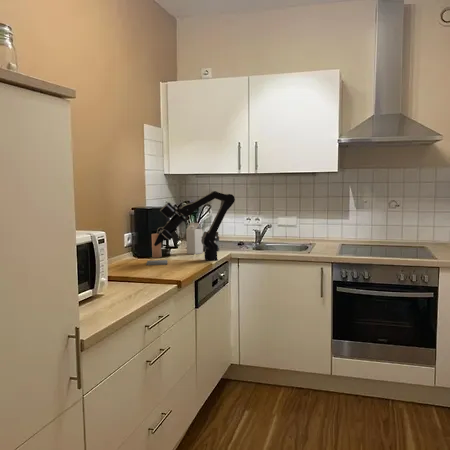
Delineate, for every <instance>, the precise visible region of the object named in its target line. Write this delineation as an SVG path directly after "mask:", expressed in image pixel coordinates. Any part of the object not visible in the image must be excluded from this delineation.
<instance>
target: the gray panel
mask: <svg viewBox="0 0 450 450" xmlns="http://www.w3.org/2000/svg"><path fill="white" fill-rule="evenodd" d="M145 264H146V265H145V266H161V265H162V266H163V265H164V266H165V265H168V259H160V260H159V259H158V260H155V259H154V260H146V263H145Z"/></svg>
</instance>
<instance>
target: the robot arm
mask: <svg viewBox="0 0 450 450" xmlns="http://www.w3.org/2000/svg"><path fill="white" fill-rule="evenodd" d="M214 199H215V200H219V201H220V204H219V209H218V210H217V213H216V215H215V217H214V219H213V221H212V223H211V224H210V226H209V229H208V230H207V231H204V232H203V233H202V235H203V236H202V237H201V238H202V240H201V242H202V244H203V245H204V246H205V248H207V249H206V251H204V260H205V261H207V262H208V261H210V262H211V261H218V260H219V259H218V251H217V248H218V245H216V244H215V243H214V241H215V237H216V232H218V230H219V228H220V226H221V224H222V221H223V219H224V217H225V216H226V214H227V211H228V210H229V209H230V208H231V207H232V205H233V204H234V203H235V201H236V198H235V196H234V195H233V194H230V193H223V192H218V191H216V190H212V191H211V192H210V193H208V194H206V195H204V196H203V197H201V198H199V199H197V200H195V201H193V202H189V203H187V204H184V205H181V206H180V207H179V208H177V207H176V208H175V207H174V205H172V204H171V202H170V201H169V202H167V203H166V204H164V205H163V206H162V207H161V208H160V210H159V212H160V213H161V214H163V215H164V216H165V217H166V219H168V218H169V220H168V221H167V222H166V224H165V225H164V226H160V227H158V228H157V229H156V230H157V231H156V233H155V234H159V235H158V237H157V239H156V241H155V244H154V245H155V246H157V245H158V244H159V243H161V244H162V242H164V241H171V240H172V242H173V243H174V244H176V243H177V242H180V241H181V240H180V238H179V235H178V233H177V229H178V227H179V226H181V224H182V223H184V224H187V219H188V218H187V217H188V216H190V215H192V214H194V212H195V211H196V210H197V209H199V208H201V207H202V206H204V205H206V204H208V203H210V202H212V201H213V200H214Z"/></svg>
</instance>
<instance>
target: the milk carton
mask: <svg viewBox="0 0 450 450" xmlns="http://www.w3.org/2000/svg"><path fill="white" fill-rule="evenodd" d="M185 232H186V254H187V255H188V254H189V255H199V254H204V250H203V244H202V242H201V240H202V238H201V237H202V236H203V228H202V227H201V226H200V225H199V222H189V225H188V226H187V228H186V229H185Z"/></svg>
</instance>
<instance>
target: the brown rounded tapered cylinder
mask: <svg viewBox="0 0 450 450" xmlns="http://www.w3.org/2000/svg"><path fill="white" fill-rule="evenodd" d="M158 235H159V234H156V233H151V252H152V253H151V254H152V255H151V256H152V258H154V259H156V258H162V242H161V243H159V244H158V245H157V246H155V245H154V244H155V241H156V239H157V237H158Z"/></svg>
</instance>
